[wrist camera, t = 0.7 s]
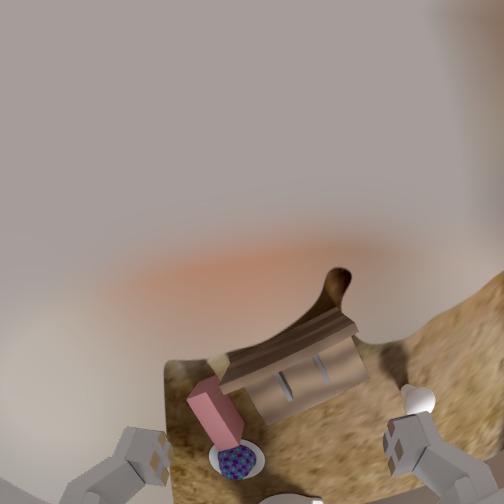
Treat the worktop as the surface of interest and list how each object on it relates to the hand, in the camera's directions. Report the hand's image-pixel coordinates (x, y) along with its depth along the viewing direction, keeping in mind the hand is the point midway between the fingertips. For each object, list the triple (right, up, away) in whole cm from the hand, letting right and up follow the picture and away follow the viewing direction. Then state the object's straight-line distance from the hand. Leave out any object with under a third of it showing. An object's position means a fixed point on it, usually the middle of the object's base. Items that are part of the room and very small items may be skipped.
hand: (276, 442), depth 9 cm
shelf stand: (+8, -15, +45) cm, 49 cm away
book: (-7, -23, +46) cm, 52 cm away
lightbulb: (+30, -21, +43) cm, 57 cm away
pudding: (-4, -37, +46) cm, 59 cm away
